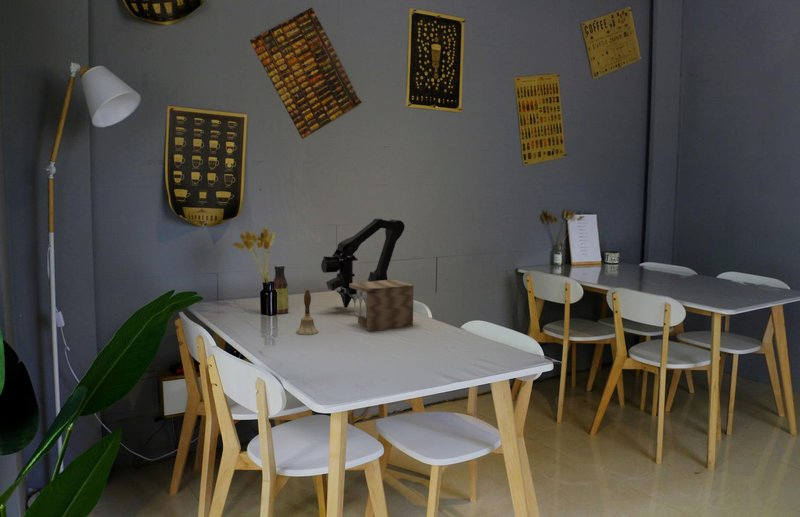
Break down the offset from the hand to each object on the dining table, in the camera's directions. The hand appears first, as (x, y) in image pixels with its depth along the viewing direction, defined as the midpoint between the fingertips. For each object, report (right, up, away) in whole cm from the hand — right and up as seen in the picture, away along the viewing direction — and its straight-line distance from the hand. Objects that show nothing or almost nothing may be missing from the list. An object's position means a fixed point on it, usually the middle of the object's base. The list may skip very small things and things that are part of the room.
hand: (345, 307), depth 285 cm
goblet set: (+9, -4, -14) cm, 18 cm away
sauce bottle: (-27, -2, -4) cm, 27 cm away
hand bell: (-11, -7, -37) cm, 39 cm away
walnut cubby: (+16, -5, -23) cm, 29 cm away
